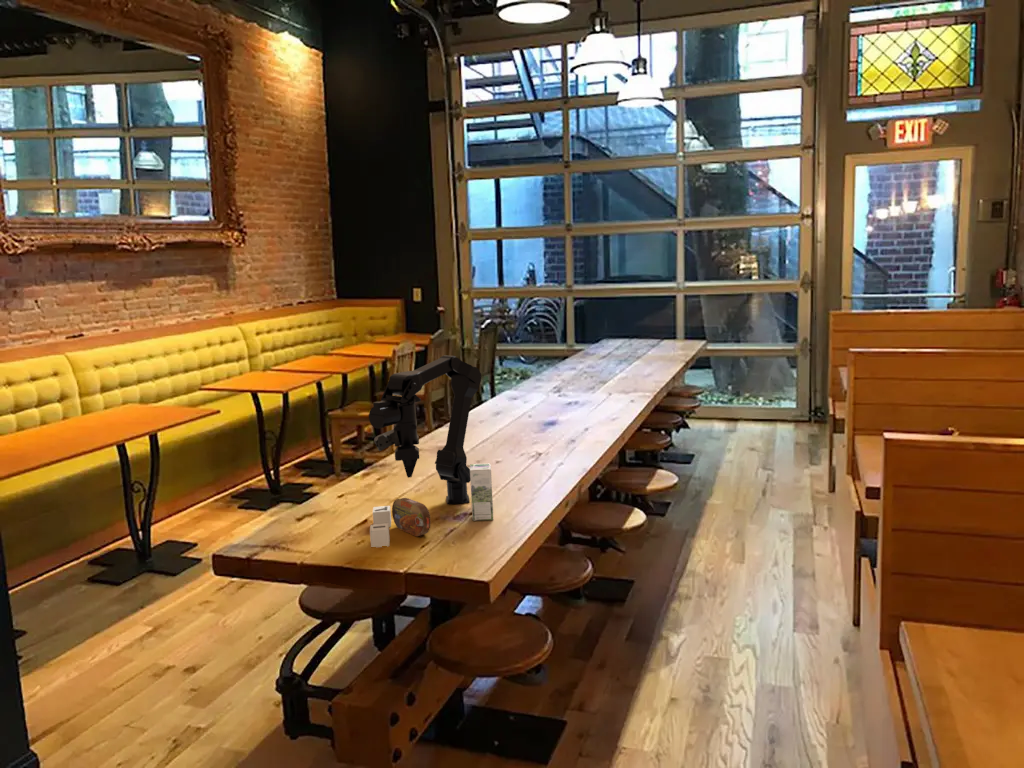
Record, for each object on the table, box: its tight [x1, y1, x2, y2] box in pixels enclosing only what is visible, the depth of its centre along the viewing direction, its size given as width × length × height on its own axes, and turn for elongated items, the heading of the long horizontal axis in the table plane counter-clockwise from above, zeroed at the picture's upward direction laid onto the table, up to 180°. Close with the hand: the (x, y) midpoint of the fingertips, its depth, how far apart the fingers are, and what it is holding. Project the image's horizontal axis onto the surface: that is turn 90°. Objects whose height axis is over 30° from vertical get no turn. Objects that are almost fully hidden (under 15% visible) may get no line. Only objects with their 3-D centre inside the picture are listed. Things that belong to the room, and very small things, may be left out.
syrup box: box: [469, 462, 494, 522], centre depth 223 cm, size 6×6×14 cm
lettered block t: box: [372, 505, 392, 528], centre depth 222 cm, size 4×4×5 cm
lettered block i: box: [369, 523, 391, 548], centre depth 208 cm, size 4×4×5 cm
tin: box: [391, 497, 432, 537], centre depth 216 cm, size 15×3×8 cm, turn 40°
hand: (409, 477), depth 223 cm, fingers closed
